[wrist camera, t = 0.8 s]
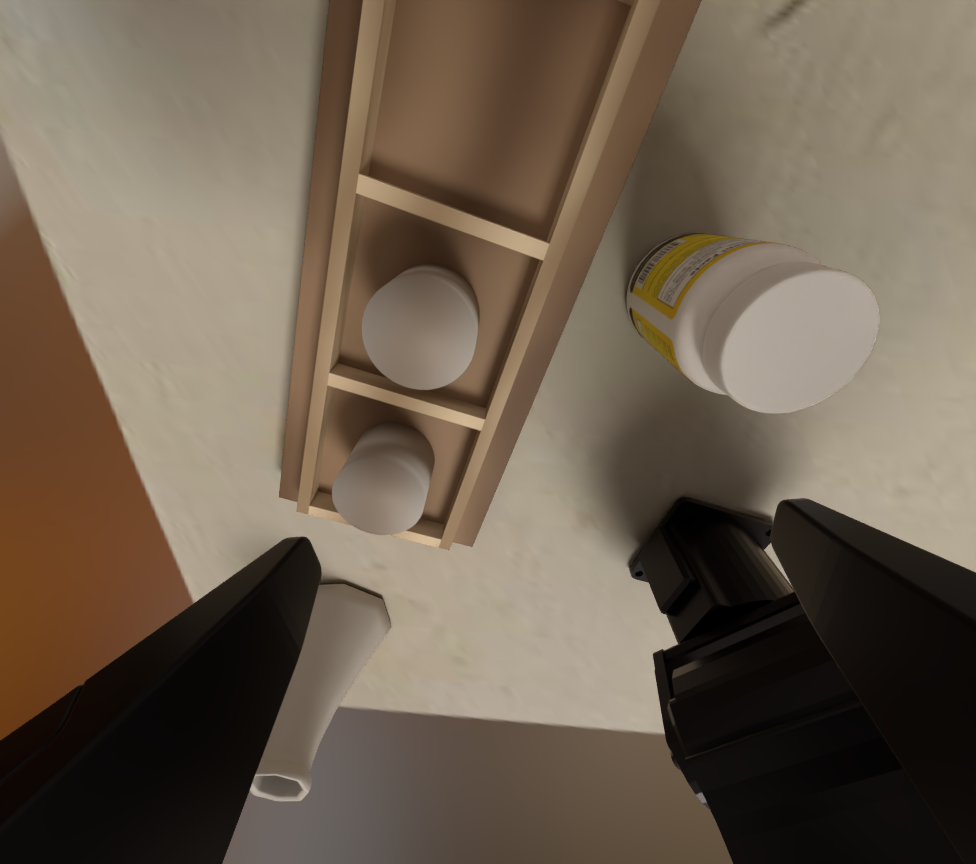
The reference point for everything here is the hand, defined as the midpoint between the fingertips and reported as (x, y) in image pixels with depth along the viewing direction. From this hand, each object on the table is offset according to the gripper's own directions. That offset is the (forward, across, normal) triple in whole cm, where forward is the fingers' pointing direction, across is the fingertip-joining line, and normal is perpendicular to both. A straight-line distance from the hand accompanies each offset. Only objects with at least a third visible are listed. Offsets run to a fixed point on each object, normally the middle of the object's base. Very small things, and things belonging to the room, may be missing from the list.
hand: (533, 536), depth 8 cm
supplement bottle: (+14, -7, -2) cm, 15 cm away
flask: (+14, +14, +18) cm, 27 cm away
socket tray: (+13, +3, -2) cm, 14 cm away
